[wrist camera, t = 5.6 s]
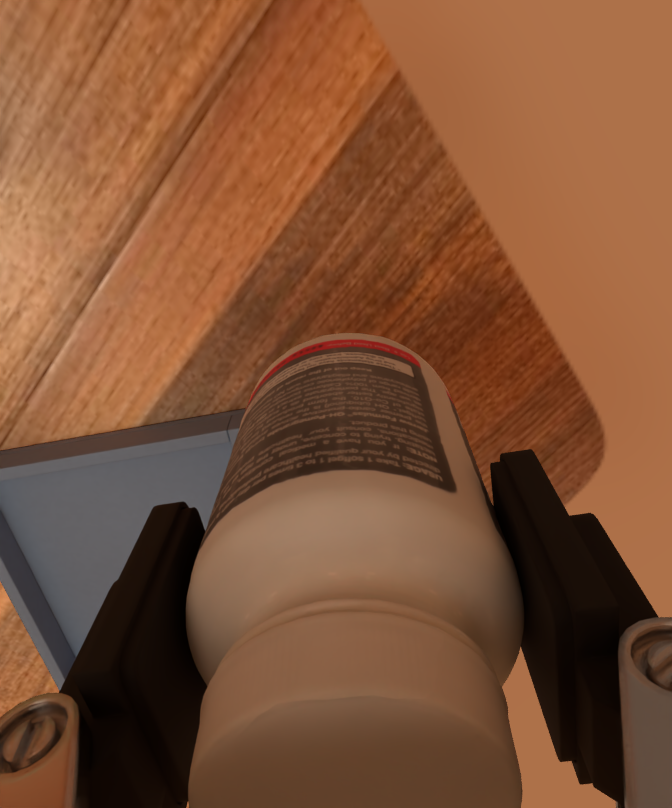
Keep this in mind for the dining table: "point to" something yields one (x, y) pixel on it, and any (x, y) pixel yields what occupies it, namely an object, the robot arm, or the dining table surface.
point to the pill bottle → (353, 597)
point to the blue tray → (95, 517)
